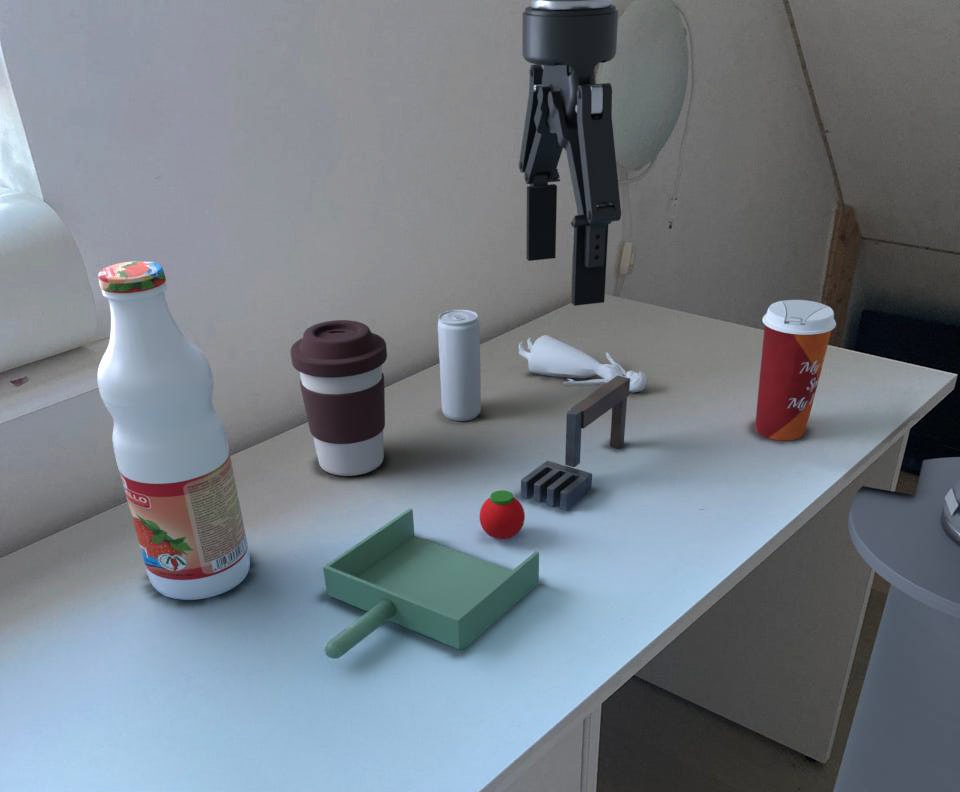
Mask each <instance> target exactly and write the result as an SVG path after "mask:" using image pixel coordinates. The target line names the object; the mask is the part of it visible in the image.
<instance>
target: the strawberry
mask: <svg viewBox="0 0 960 792" xmlns="http://www.w3.org/2000/svg"><path fill="white" fill-rule="evenodd" d="M478 518H479V523H480V526H481V529H482V530H483V531H484V532H485V534H487V535H488V536H489V537H491V538H492V539H496V540H509V539H511V538H513V537H515V536H517V535H518V534H519V532H520V531H522V529H523V526H524V524H525V518H526V515H525V510H524V507H523V505H522V502H520V501H519V499H517V498H516V497H515V496H514V494H513V493H512V492H511V491H509V490H504V489H503V490H501V489H499V490H496V491H493V492H492V493H491V494H490V496H489V497H488V498H487V499H486V500H485V501H484V502H483V504H482V505H481V507H480V509H479V517H478Z"/></svg>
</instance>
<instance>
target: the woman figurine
mask: <svg viewBox="0 0 960 792" xmlns="http://www.w3.org/2000/svg"><path fill="white" fill-rule="evenodd" d="M526 343H527V349H528V350H529V351H530V352H529V351H527V350H526V349H525V347H524V345H523V341H521V342H520V343H519V344H518V353H517V354H518V355H519V356H520V357H522V358H524V359H526V360H527V366H528V371H529V372H530V373H531V374H533V375H540V376H548V377H554V378H567V379H566V380H567V381H563V383H562V385H563V386H564V387H569V388H570V387H573V386H585V385H586V386H597V385H599V386H603V385H604V384H606V383H607V382H609V381H610V380H612V379H613V378H615V377H616V376H622V377H626V378H630V388H629V393H633V394H634V393H637V392H642V391H643V390H644V389H645V388H646V386H647V383H648V378H647V376H646V374H645V373H644V372H643V371H641V370H638V372H636V371H634V370H633V369H631V370H629V371H626V370H625V369H624V368H623V367H622V365H620V364H619V363H617V361H614V359H613V358H612V356H611V354H610V353H609V352H605V358H606V359H607V361H609V362H610V364H609V363H601V362H600V361H598V360H597V359H596V358H594V357H592V356H591V355H589V354H587V353H585V352H584V351H582V350H580V349H578V348H575V347H574V346H571V345H569V344H567V343H565V342H563V341H561V340H558V339H557V338H554V337H551V335H547V334H543V335H541V336H540V337H538V338H537V339H536V340H535V341H534V342H533V341H532V337H531V336H530V337H529V338H527V342H526ZM595 376H598V377H600V378H598V379H597V378H596V379H595V378H593V379H589V380H588V378H592V377H595ZM574 379H587V380H577V381H576V380H574Z"/></svg>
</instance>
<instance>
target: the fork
mask: <svg viewBox="0 0 960 792" xmlns="http://www.w3.org/2000/svg"><path fill="white" fill-rule="evenodd" d="M629 388H630V378H626V377H622V376H616V377H615V378H613V379H612V380H610V381H609V382H607V383H606V384H604V385H603V384H602V385H601V386H600V387H598V388H597V389H596V390H594V391H593V392H591V393H590V394H588V395H587V396H585V397H584V398H583V399H581V400H580V401H579V402H577V403H576V404H574V405H572V406H571V407H570V410H568V411H567V412H566V422H565V423H566V424H565V453H564V454H565V455H564V457H565V459H564V464H561V463H558V462H554V461H550V460H546V461H544V462H543V463H541V464H540V465H539V466H538V467H536V468H534V470H532V471H531V472H529V473H528V474H527V475H525V476H524V477H522V479H521V478H520V497H521V498H524V499H528V498H530V497H531V496H532V495H533V501H534V502H537V503H541V502H542V501H544V500H545V499H546V505H547V506H550V507H552V508H554V507H555V506H557V504H559V503H560V504H559V509H560V510H563V511H568V510H569V509H570V508H572V507H573V506H574V505H575V504H577V503H578V502H579V501H580V500H582V498H584V497H585V496H587V495H588V494H589V493H591V492H592V490H593V489H592V488H593V473H592V472H588V471H585V470H582V469H578V468H576V467H578V466H579V465H580V464H581V450H582V449H581V448H582V447H581V446H582V429H585V428H586V427H588V426H590V425H591V424H592V423H594V422H595V421H596V420H598V419H599V418H601V417H602V416H603V415H604V414H606V413H608V412H609V411H610V410H611V420H610V422H611V423H610V436H609V437H610V438H609V447H610V448H614V449H620V448H622V447H623V446H624V445H625V435H626V419H627V418H626V417H627V408H628V407H627V406H628V397H629V396H630V392H629Z"/></svg>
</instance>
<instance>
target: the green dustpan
mask: <svg viewBox="0 0 960 792" xmlns="http://www.w3.org/2000/svg"><path fill="white" fill-rule="evenodd" d="M322 569H323V576H324V583H325V589H326V590H325V591H326V595H327V596H329V597H331V598H334V599H337V600H338V601H341V602H343V603H346V604H348V605H351V606H353V607H356V608H358V609H361V610H362V611H366V612H365V613H364V614H363V615H361V616H360V617H358V618H357V619H356V620H354V621H353V622H352V623H350V624H349V625H348V626H346V627H345V628H344V629H343V630H341V631H340V632H339V633H337V634H335V636H334V637H332V638H331V639H329V640H328V641H327V642H326V643H325V645H324V652H325V655H326V656H327V657H328V658H330V659H333V660H337V659H340V658H341V657H343V656H344V655H345V654H346V653H348V652H349V651H350V650H352V649H353V648H354V647H356V646H357V645H358V644H359V643H360V642H362V641H363V640H365V638H367V637H368V636H369V635H371V634H372V633H373V632H375V631H376V630H377V629H379V628H380V627H382V625H383V624H385V623H386V622H388V621H389V622H392V623H395V624H396V625H399V626H401V627H404V628H407V629H409V630H411V631H413V632H416V633H418V634H421V635H423V636H425V637H428V638H431V639H433V640H435V641H437V642H440V643H443V644H445V645H448V646H450V647H452V648H455V649H457V650H461V651H463V650H464V649H466V648H467V647H468V646H470V644H471V643H472V642H473V641H475V640H476V639H477V638H478V637H479V636H481V635H482V633H484V632H485V631H486V630H487V629H488V628H489V627H491V625H493V624H494V623H495V622H496V621H497V620H498V619H499V618H501V617H502V616H503V615H504V614H505V613H506V612H508V611H509V610H510V609H511V608H512V607H513V606H515V605H516V604H517V602H519V601H520V600H521V599H522V598H524V596H526V595H527V594H528V593H529V592H530V591H531V590H533V589H534V588H535V587H536V586H537V585H538V584H539V583H540V552H539V551H537V550H536V551H534V552H533V553H532V554H531V555H529V556H527V558H526V559H524V560H523V561H522V562H521V563H520V564H519V565H517V566H516V567H515V568H514V569H512V570H511V569H508V568H506V567H503V566H500V565H497V564H495V563H492V562H489V561H487V560H483V559H481V558H478V557H475V556H473V555H470V554H467V553H463V552H461V551H458V550H455V549H453V548H450V547H447V546H444V545H441V544H439V543H436V542H434V541H430V540H427V539H425V538H421V537H419V536H416V535H415V523H414V509H413V508H411V507H409V508H407V509H406V510H405V511H404V512H402V513H400V514H399V515H397V516H396V517H394V518H393V519H392V520H390V521H388V522H387V523H385V524H384V525H383V526H381V527H379V528H378V529H377V530H375V531H374V532H372V533H371V534H369V535H368V536H367V537H365V538H364V539H362V540H361V541H359V542H358V543H356V544H354V545H353V546H352V547H350V548H349V549H347V550H346V551H344V552H343V553H341V554H340V555H338V556H337V557H335V559H333V560H331V561H330V562H328V563H327V564H326V565H324V566H323V567H322Z"/></svg>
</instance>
